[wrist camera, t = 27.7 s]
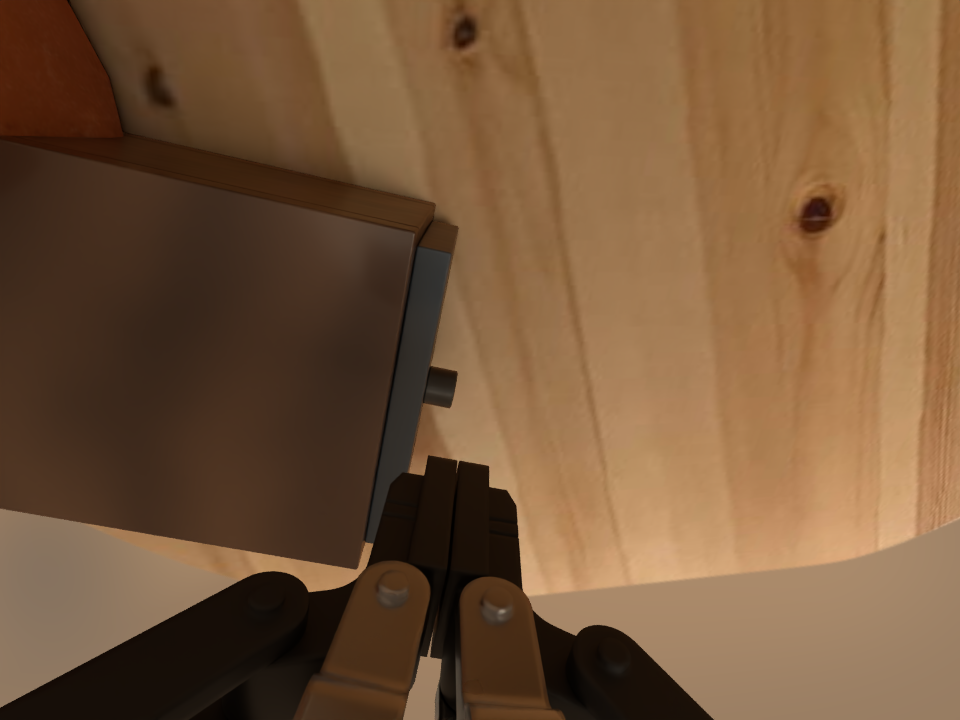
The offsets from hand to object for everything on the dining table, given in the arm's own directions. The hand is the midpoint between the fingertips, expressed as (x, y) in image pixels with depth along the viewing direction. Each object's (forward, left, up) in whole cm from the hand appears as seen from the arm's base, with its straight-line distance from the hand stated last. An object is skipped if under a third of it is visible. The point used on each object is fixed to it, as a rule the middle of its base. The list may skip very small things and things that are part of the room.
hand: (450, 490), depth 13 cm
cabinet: (+9, -3, -14) cm, 17 cm away
